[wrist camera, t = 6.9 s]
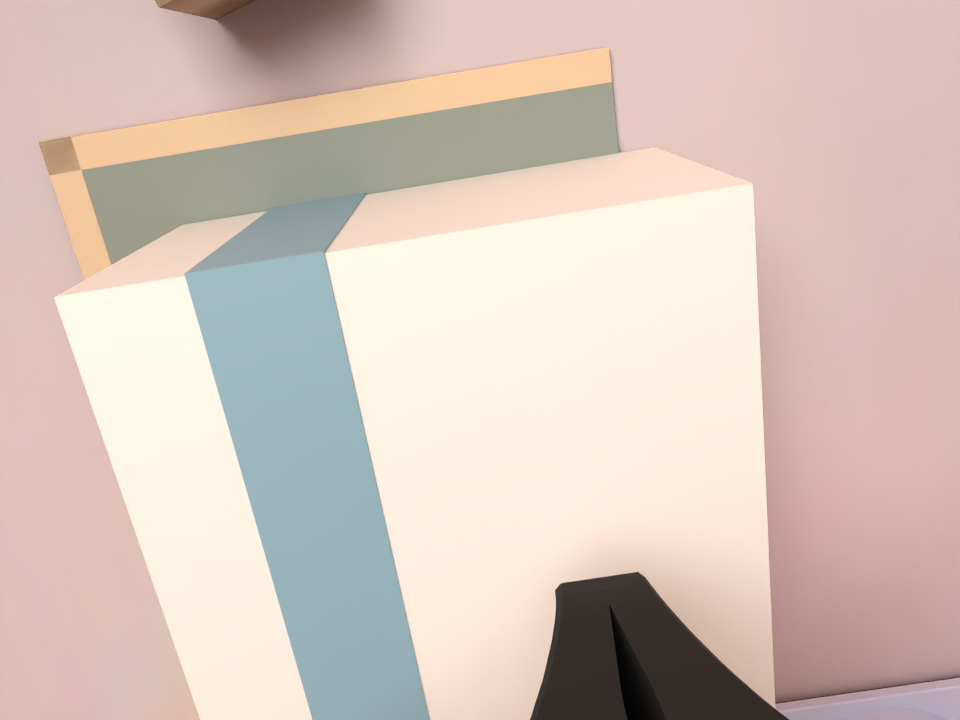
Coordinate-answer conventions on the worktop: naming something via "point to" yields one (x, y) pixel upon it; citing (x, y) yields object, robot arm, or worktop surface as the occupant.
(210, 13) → the walnut block
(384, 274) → the milk carton
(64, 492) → the worktop surface
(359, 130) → the display mat
